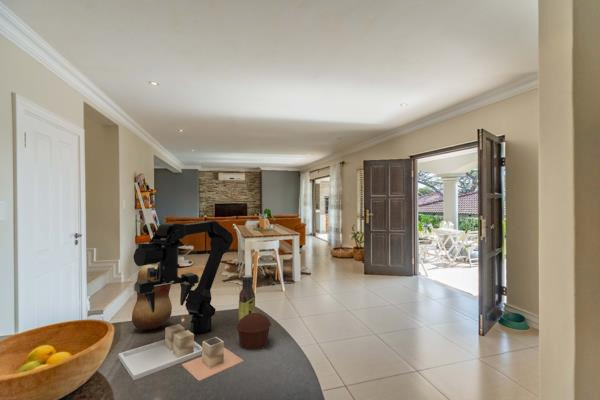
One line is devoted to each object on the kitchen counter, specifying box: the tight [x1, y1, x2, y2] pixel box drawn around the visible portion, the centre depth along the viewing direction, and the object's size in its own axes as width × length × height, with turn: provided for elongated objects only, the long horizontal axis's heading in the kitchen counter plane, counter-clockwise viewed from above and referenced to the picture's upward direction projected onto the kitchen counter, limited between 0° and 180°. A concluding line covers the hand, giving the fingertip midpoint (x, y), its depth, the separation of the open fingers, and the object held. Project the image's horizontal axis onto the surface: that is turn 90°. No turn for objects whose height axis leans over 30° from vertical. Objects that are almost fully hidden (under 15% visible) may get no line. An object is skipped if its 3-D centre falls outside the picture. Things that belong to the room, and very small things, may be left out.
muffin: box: [236, 312, 272, 350], centre depth 96 cm, size 12×11×10 cm
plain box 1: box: [164, 323, 186, 351], centre depth 93 cm, size 4×4×6 cm
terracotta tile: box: [181, 347, 245, 382], centre depth 83 cm, size 14×11×1 cm
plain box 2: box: [173, 329, 195, 358], centre depth 88 cm, size 4×4×6 cm
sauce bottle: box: [237, 274, 256, 323], centre depth 109 cm, size 6×6×20 cm
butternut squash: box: [131, 263, 173, 331], centre depth 109 cm, size 14×13×25 cm
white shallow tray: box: [117, 339, 202, 381], centre depth 87 cm, size 20×16×2 cm
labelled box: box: [201, 336, 225, 368], centre depth 83 cm, size 4×4×6 cm
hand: (167, 308), depth 93 cm, fingers open, 9 cm apart
